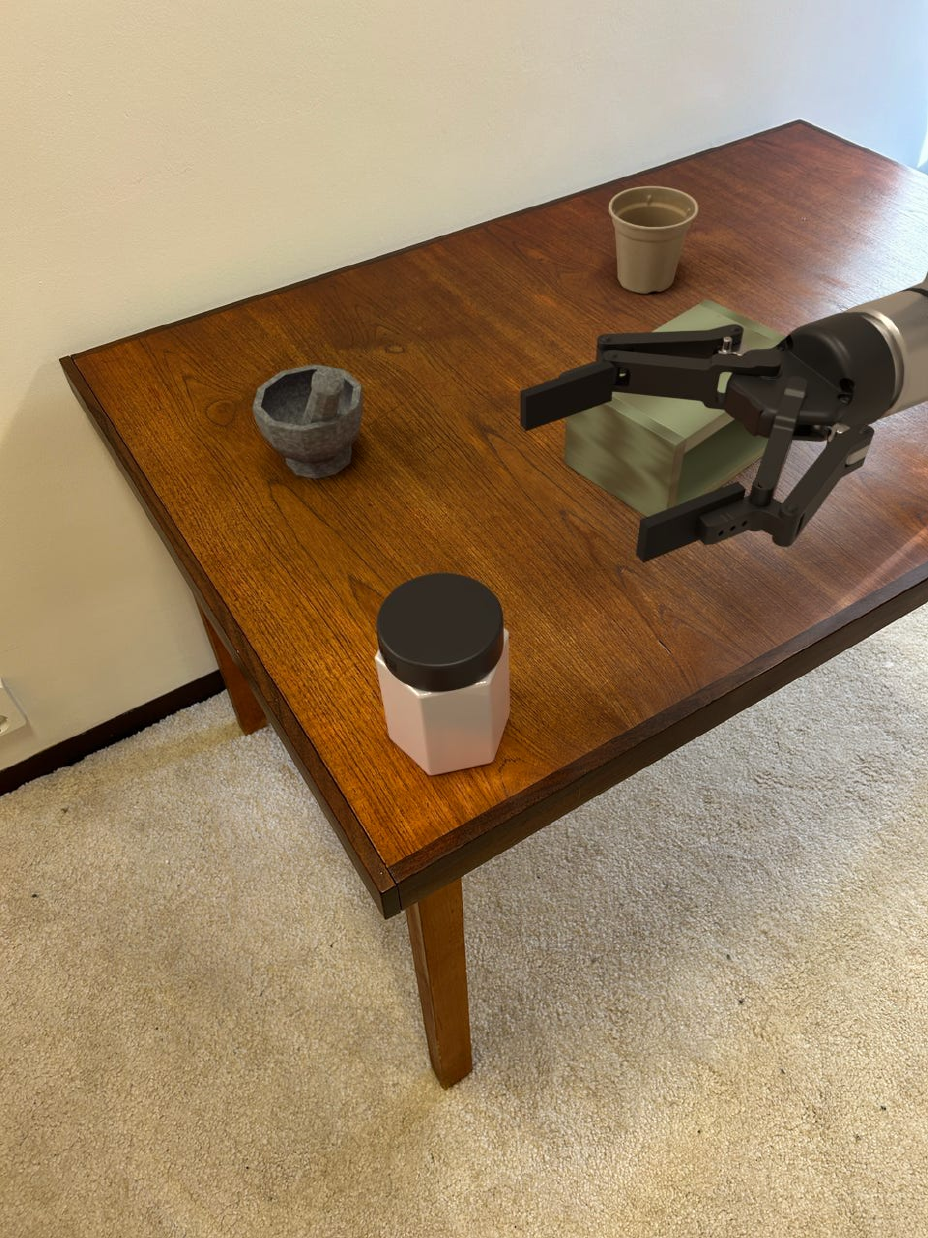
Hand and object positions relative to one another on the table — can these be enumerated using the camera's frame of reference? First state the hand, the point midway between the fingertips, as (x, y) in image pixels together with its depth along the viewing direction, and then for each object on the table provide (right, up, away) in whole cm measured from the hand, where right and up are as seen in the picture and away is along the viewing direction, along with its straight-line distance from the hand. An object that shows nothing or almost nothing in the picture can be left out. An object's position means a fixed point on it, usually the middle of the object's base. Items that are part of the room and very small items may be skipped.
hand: (577, 472), depth 57 cm
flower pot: (+14, +29, +52) cm, 61 cm away
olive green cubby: (+13, +7, +32) cm, 35 cm away
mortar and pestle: (-20, +6, +33) cm, 39 cm away
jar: (-8, -17, +13) cm, 22 cm away
